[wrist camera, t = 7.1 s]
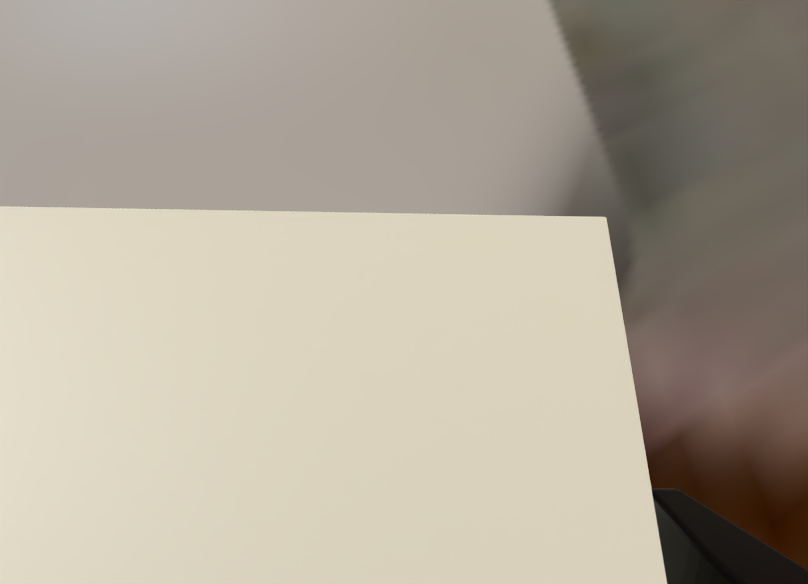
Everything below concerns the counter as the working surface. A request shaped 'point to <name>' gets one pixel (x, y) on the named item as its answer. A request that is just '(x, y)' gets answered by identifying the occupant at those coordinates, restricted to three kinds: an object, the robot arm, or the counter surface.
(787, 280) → the counter surface
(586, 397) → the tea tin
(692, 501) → the robot arm
